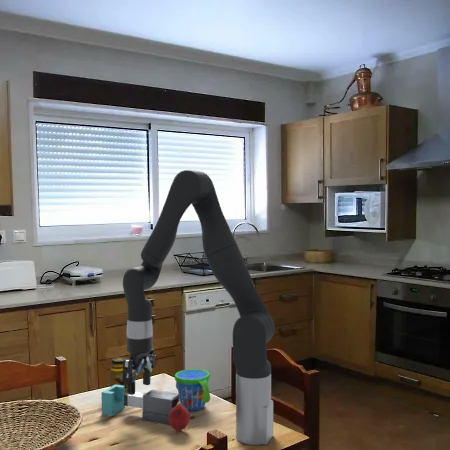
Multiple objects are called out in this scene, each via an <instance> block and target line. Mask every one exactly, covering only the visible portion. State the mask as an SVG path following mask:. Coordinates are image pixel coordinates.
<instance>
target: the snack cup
mask: <svg viewBox="0 0 450 450" xmlns="http://www.w3.org/2000/svg"><path fill="white" fill-rule="evenodd" d="M210 378H211V374H210V373H209V371H207V370H205V369H199V368H189V369H183V370H179V371H177V372H176V373H175V374H174V380H175V388H176V390H177V393H178V394H179V402H181V403H182V404H181V405H182V406H184V407H185V408H186V409H187V410H188V412H189V411H199V410H201V409H203V408H204V407H205V406H206V404H207V403H209V402H210V401H211V393H210V390H209V381H210Z"/></svg>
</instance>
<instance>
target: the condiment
mask: <svg viewBox="0 0 450 450" xmlns="http://www.w3.org/2000/svg"><path fill="white" fill-rule="evenodd" d="M123 360H129V359H128V357H125V356H124V357H123V356H119V357H113V358H112V359H111V361H110V362H111V367H110V374H109V375H110V378H109V379H110V387H112V386H113V385H122V386H125V394H126V393H127V381H123V380H122V374H123ZM127 374H128V373H126V377H127ZM101 399H102V396H101Z"/></svg>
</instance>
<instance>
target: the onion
mask: <svg viewBox="0 0 450 450" xmlns="http://www.w3.org/2000/svg"><path fill="white" fill-rule="evenodd" d="M181 404H182V403H181V402H180V401H179V402H178V403H177V405H176V406H175V407H174V408H173V409H172V410H171V411H170V413H169V417H168V421H169V424H170V425H169V426H170V427H171V428H172V429H173V430H174V431H176V432H179V433H180V432H182V430H184V429H185V428H186V427H187V426H188V425H189V424H190V419H191V418H190V417H191V416H190V413H189V411H188V410H187V409H186V408H185V407H184V406H182V405H181Z"/></svg>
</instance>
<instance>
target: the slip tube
mask: <svg viewBox="0 0 450 450" xmlns="http://www.w3.org/2000/svg"><path fill="white" fill-rule="evenodd" d="M146 393H147V392H140V391H139V392H137V391H135V394H134V395H130V394H128V393H126V394H124V406H125V407H131V408H137V409H143V395H145V394H146Z"/></svg>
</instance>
